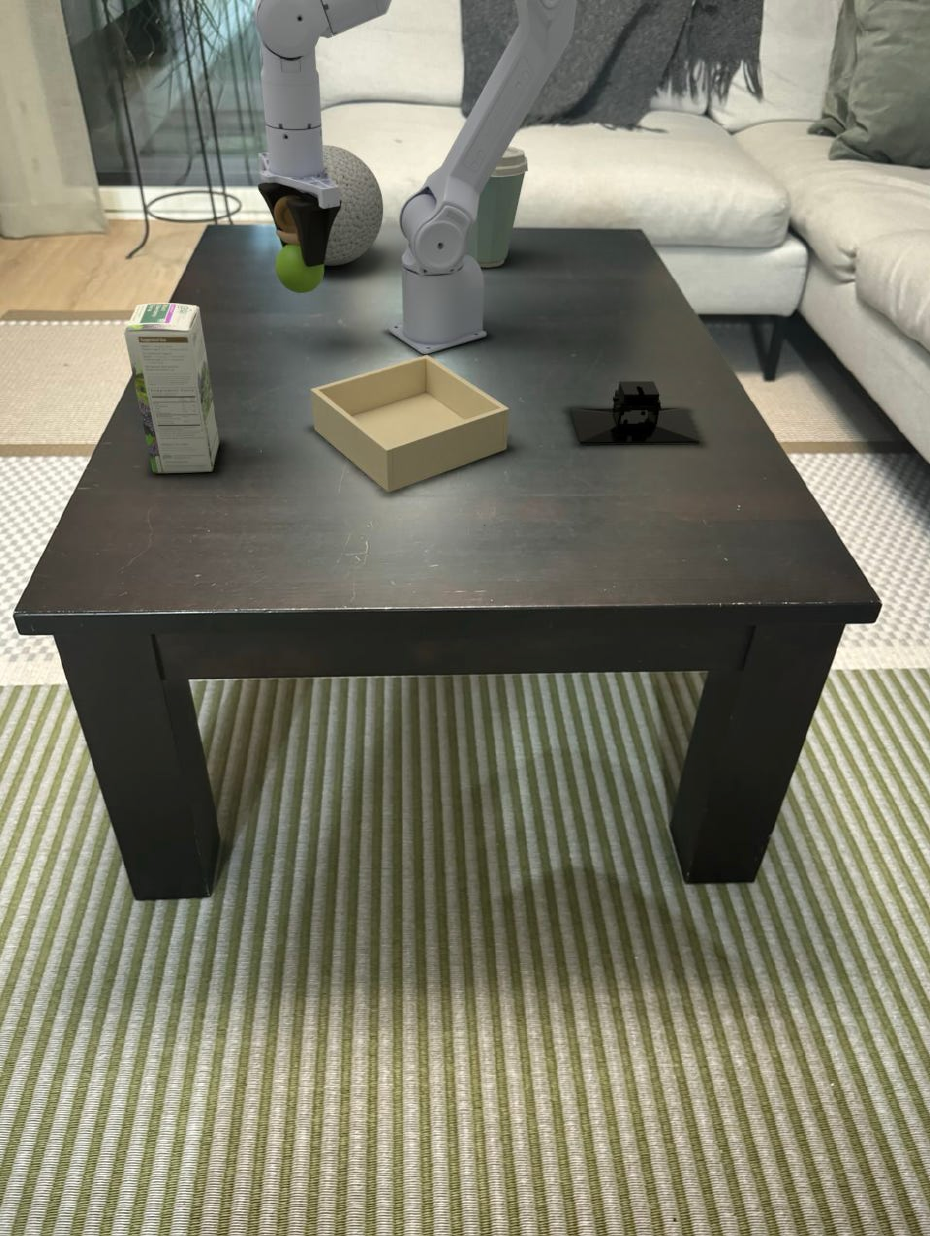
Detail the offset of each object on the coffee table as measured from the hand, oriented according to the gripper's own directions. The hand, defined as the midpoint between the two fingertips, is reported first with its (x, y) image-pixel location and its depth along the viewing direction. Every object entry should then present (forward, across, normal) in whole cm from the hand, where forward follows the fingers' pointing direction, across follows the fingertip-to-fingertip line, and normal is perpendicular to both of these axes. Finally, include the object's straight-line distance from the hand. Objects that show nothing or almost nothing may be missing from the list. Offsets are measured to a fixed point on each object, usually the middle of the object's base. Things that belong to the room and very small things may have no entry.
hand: (303, 257), depth 103 cm
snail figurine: (+4, 0, 0) cm, 4 cm away
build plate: (+10, +36, +19) cm, 42 cm away
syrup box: (+11, +16, -22) cm, 30 cm away
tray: (+10, +25, -2) cm, 27 cm away
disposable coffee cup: (+10, -11, +35) cm, 38 cm away
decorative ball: (+10, -22, +16) cm, 29 cm away
